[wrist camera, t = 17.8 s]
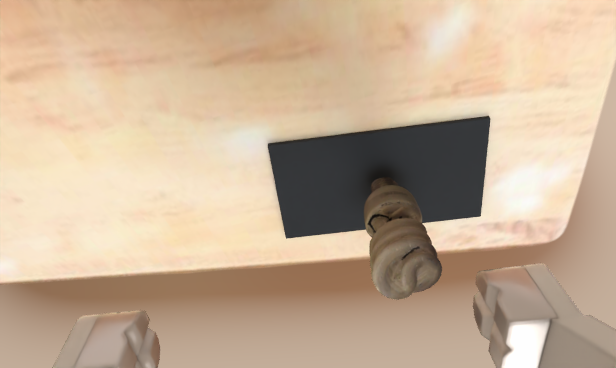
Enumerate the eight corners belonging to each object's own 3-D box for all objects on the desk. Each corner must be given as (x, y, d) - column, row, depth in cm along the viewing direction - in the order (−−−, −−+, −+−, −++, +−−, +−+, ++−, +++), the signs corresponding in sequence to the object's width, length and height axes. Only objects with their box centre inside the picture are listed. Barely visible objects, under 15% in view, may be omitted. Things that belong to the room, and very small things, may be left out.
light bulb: (356, 207, 48) (377, 314, 36) (350, 164, 46) (371, 263, 33) (407, 199, 48) (447, 305, 35) (405, 155, 45) (447, 253, 32)
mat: (286, 235, 51) (286, 238, 51) (268, 143, 45) (267, 145, 44) (479, 213, 50) (480, 216, 49) (488, 116, 44) (490, 118, 43)
